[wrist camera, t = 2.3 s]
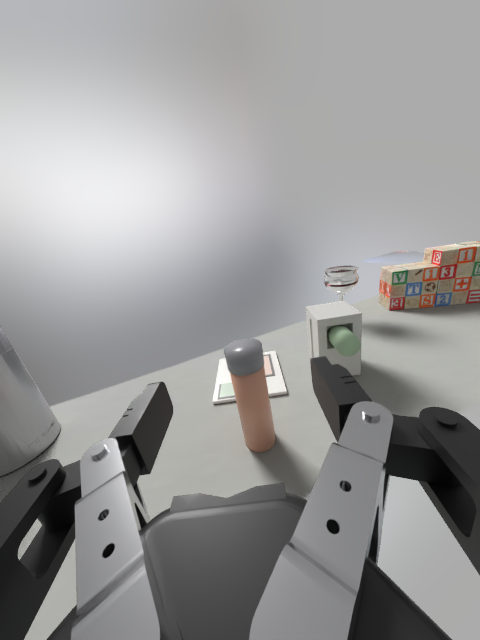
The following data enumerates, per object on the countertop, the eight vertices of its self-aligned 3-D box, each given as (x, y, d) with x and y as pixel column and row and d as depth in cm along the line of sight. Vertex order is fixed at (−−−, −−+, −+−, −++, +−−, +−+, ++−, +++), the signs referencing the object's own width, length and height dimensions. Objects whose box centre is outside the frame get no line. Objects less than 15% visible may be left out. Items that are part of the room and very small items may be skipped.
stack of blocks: (388, 311, 53) (392, 257, 49) (378, 303, 59) (380, 254, 54) (501, 300, 48) (516, 240, 44) (477, 292, 54) (489, 238, 50)
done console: (320, 380, 35) (317, 320, 31) (309, 359, 40) (305, 306, 37) (360, 374, 34) (361, 313, 31) (344, 354, 40) (343, 300, 36)
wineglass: (356, 315, 54) (357, 264, 50) (359, 327, 48) (360, 270, 44) (325, 316, 56) (323, 267, 52) (325, 328, 51) (323, 274, 46)
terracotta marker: (244, 455, 26) (222, 360, 21) (244, 427, 29) (225, 341, 25) (278, 451, 25) (263, 354, 21) (274, 423, 29) (260, 336, 24)
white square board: (213, 404, 34) (212, 400, 34) (220, 361, 45) (219, 358, 45) (287, 394, 33) (286, 390, 33) (275, 352, 45) (275, 350, 44)
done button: (337, 358, 30) (337, 337, 29) (326, 344, 34) (326, 325, 33) (360, 354, 30) (361, 334, 29) (347, 340, 33) (347, 322, 32)
